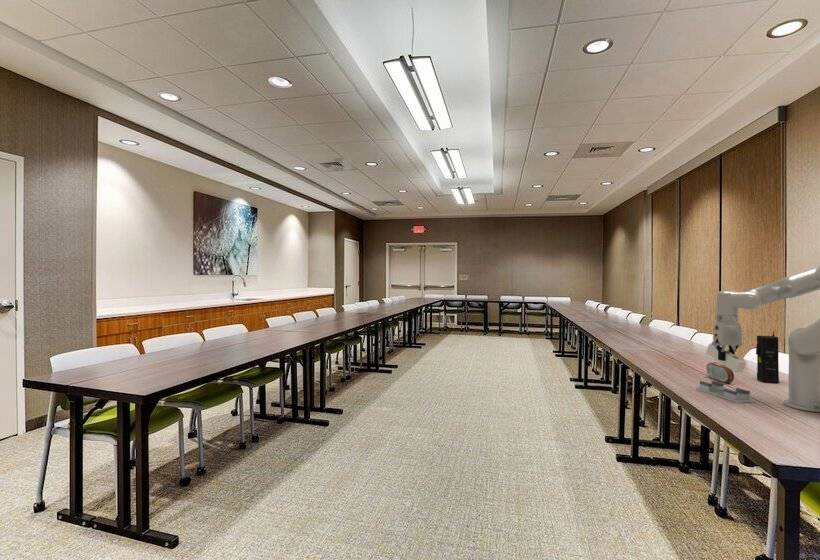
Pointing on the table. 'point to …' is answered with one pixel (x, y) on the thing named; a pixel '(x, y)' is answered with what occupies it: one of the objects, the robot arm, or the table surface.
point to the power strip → (727, 359)
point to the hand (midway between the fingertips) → (726, 359)
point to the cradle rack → (725, 392)
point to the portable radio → (767, 359)
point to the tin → (720, 372)
